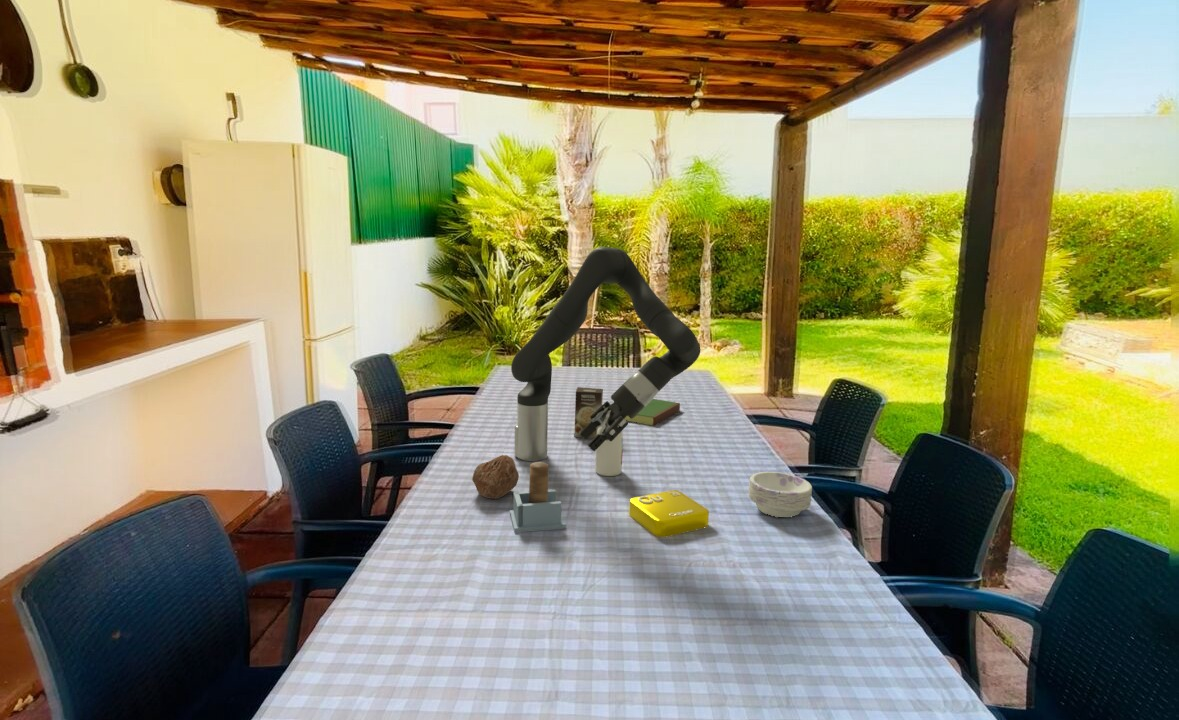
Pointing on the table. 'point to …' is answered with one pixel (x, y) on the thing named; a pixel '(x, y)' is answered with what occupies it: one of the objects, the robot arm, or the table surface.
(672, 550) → the table surface
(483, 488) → the decorative rock
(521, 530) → the slate bracket
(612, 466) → the milk bottle
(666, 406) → the hardcover book
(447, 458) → the table surface
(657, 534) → the element tile
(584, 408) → the coffee box
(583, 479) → the table surface
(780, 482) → the paper bowls
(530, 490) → the walnut peg
